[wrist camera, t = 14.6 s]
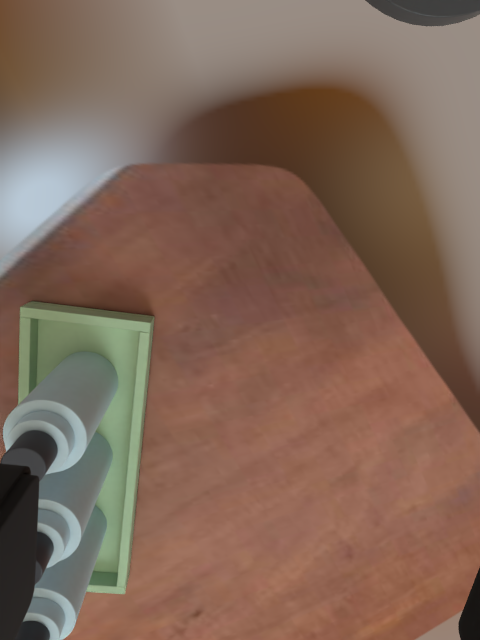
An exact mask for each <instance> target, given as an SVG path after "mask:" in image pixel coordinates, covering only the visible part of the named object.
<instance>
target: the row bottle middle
mask: <svg viewBox="0 0 480 640" xmlns="http://www.w3.org/2000/svg"><path fill="white" fill-rule="evenodd" d="M112 459H113V454H112V449H111V447H110V444H109V443H108V441H107V440H106V439H105V438H104V437H103V436H102V435H100V434H99V433H97V432H95V433H94V435H93V437H92V439H91V441H90V443H89V444H88V446H87V448H86V450H85V452H84V454H83V455H82V457H81V458H80V460H79V461H78V462H77V463H75V464H74V465H73V466H71V467H70V468H68V469H65V470H63V471H60V472H55V473H49V474H45V476H44V477H43V479H42V480H41V481H39V503H38V525H37V548H36V570H35V584H37V583H38V582H39V581H40V579H41V578H42V575H43V573H44V571H45V569H46V568H49V567H51V566H53V565H54V564H56V563H57V562H59V561H61V560H63V559H65V558H67V557H69V556H70V555H71V554H72V553H73V552H74V551H75V550H76V549H77V547H78V545H79V543H80V541H81V538H82V536H83V533H84V531H85V528H86V526H87V523H88V521H89V518H90V516H91V513H92V511H93V508H94V506H95V503H96V501H97V498H98V496H99V493H100V491H101V489H102V486H103V484H104V481H105V479H106V476H107V474H108V471H109V469H110V466H111V463H112Z"/></svg>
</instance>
